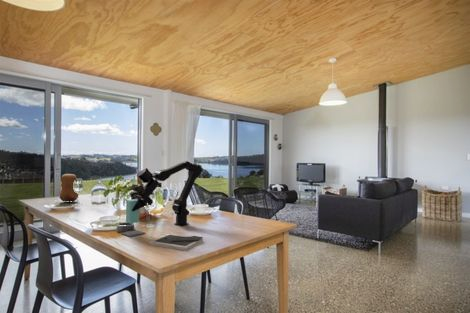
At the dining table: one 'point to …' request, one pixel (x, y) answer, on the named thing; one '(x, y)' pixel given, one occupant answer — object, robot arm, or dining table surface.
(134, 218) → the teal block
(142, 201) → the robot arm
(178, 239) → the picture frame
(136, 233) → the dark grey pad
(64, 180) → the butternut squash
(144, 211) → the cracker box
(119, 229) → the grey holder
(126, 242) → the dining table surface
